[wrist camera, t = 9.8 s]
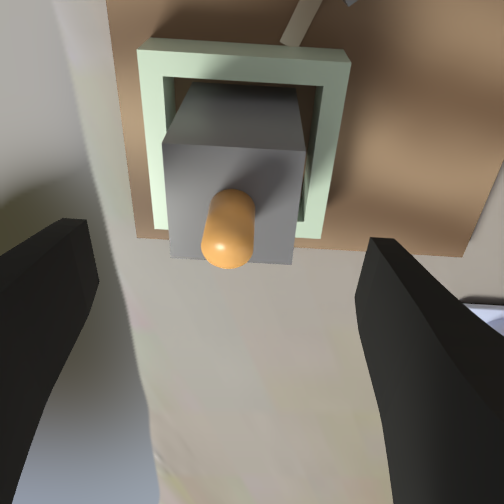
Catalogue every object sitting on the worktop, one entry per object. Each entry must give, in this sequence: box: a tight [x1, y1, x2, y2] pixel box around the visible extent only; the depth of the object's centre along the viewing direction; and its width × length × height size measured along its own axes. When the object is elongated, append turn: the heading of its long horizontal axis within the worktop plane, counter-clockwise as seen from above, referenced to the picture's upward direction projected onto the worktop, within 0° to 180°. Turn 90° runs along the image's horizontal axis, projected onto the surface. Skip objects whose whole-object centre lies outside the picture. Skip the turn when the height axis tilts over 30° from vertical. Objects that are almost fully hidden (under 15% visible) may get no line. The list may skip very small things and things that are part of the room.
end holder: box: [137, 37, 351, 239], centre depth 17 cm, size 7×7×2 cm
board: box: [106, 0, 504, 257], centre depth 17 cm, size 17×16×1 cm
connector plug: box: [162, 82, 306, 269], centre depth 15 cm, size 4×4×8 cm
